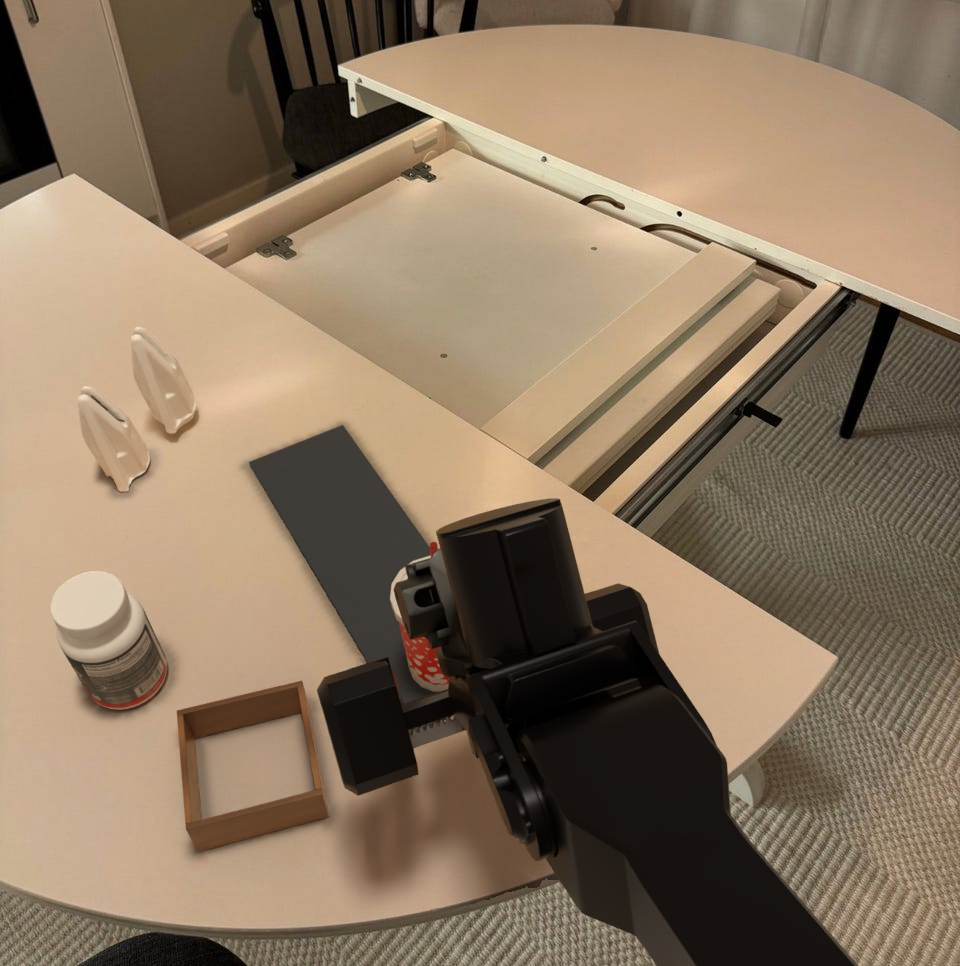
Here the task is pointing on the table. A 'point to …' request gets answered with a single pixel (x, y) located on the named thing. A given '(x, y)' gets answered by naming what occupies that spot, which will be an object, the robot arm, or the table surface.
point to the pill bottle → (108, 640)
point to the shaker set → (113, 428)
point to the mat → (348, 538)
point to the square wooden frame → (231, 717)
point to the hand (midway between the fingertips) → (460, 656)
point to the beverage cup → (420, 645)
